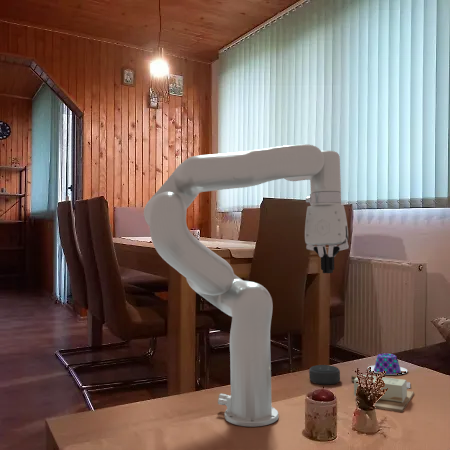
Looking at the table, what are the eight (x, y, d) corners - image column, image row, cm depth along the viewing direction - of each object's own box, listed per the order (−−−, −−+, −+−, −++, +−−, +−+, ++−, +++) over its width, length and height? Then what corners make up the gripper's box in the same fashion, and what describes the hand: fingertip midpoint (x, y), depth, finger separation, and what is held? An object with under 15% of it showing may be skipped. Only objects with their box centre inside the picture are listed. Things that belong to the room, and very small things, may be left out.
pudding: (392, 379, 142) (391, 361, 142) (359, 371, 152) (359, 354, 152) (415, 372, 149) (414, 355, 149) (383, 365, 158) (382, 349, 159)
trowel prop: (350, 383, 137) (350, 377, 137) (352, 379, 141) (352, 373, 141) (410, 388, 131) (410, 382, 131) (410, 383, 136) (410, 377, 136)
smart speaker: (303, 380, 141) (302, 367, 141) (324, 376, 146) (324, 362, 146) (324, 387, 134) (324, 373, 134) (346, 382, 139) (346, 368, 139)
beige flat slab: (356, 405, 118) (356, 402, 118) (371, 388, 132) (371, 386, 132) (402, 412, 113) (402, 409, 113) (413, 393, 126) (413, 391, 126)
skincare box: (353, 396, 123) (402, 403, 117) (353, 379, 124) (402, 385, 117) (360, 389, 129) (407, 396, 122) (360, 373, 129) (407, 379, 123)
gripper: (292, 201, 120) (294, 273, 120) (350, 197, 113) (353, 274, 112) (303, 203, 127) (305, 271, 126) (359, 199, 119) (361, 272, 118)
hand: (327, 272), depth 119 cm, fingers closed
